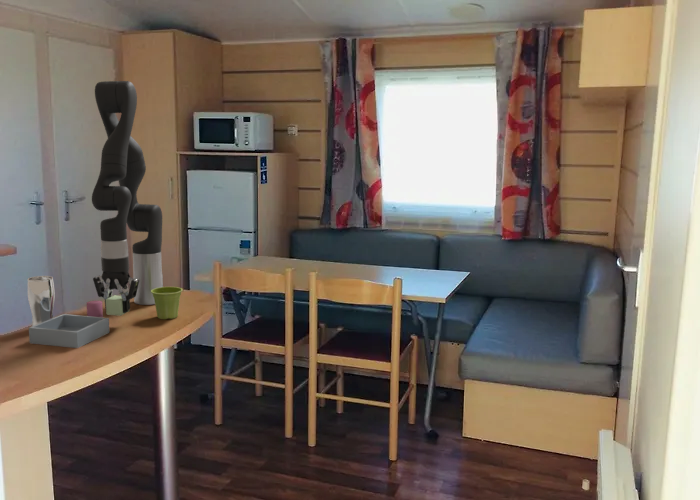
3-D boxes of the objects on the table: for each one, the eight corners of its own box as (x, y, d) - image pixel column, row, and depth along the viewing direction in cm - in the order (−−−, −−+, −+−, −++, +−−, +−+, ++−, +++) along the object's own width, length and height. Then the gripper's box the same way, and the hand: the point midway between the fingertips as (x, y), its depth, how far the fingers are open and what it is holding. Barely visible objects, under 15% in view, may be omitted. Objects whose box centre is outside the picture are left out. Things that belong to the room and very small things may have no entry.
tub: (64, 328, 188) (63, 313, 188) (109, 332, 185) (108, 317, 185) (29, 343, 174) (28, 327, 174) (77, 348, 171) (77, 332, 171)
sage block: (115, 310, 194) (114, 295, 193) (129, 311, 193) (128, 296, 192) (106, 314, 189) (105, 299, 188) (120, 315, 188) (119, 300, 187)
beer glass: (30, 326, 189) (27, 276, 187) (56, 324, 192) (53, 275, 189) (29, 333, 183) (26, 281, 180) (56, 331, 186) (53, 279, 183)
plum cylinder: (93, 319, 198) (92, 300, 197) (105, 320, 198) (105, 301, 197) (84, 322, 194) (83, 303, 193) (97, 324, 193) (96, 304, 192)
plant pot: (171, 322, 197) (170, 294, 195) (145, 318, 200) (144, 291, 199) (189, 315, 206) (188, 288, 204) (164, 311, 209) (163, 285, 207)
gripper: (144, 253, 190) (146, 310, 193) (100, 251, 193) (103, 306, 196) (130, 259, 183) (133, 317, 186) (84, 255, 185) (88, 313, 189)
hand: (117, 311), depth 191 cm, fingers closed on sage block, 4 cm apart
